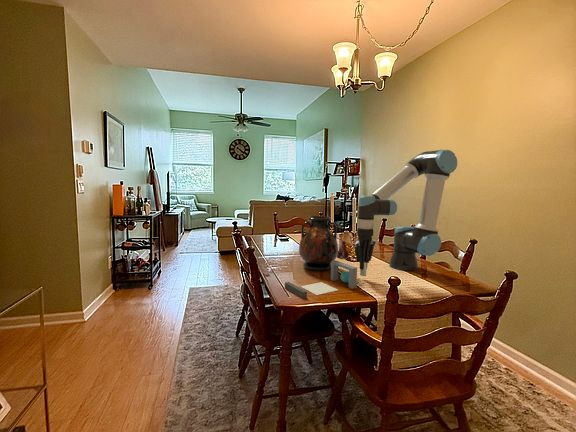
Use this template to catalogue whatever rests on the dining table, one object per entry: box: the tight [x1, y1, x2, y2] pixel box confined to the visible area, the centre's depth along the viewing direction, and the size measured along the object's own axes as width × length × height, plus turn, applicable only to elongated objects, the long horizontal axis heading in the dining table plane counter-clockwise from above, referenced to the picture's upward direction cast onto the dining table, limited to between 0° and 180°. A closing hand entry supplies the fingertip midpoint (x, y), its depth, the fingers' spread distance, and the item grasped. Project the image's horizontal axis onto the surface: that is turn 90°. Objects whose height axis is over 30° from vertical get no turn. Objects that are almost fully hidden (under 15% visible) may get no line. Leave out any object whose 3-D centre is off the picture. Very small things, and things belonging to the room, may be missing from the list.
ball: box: [340, 270, 349, 284], centre depth 146 cm, size 6×6×6 cm
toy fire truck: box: [336, 238, 350, 259], centre depth 197 cm, size 7×12×10 cm, turn 3°
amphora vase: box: [298, 215, 339, 272], centre depth 169 cm, size 22×22×28 cm
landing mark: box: [299, 281, 339, 296], centre depth 138 cm, size 12×12×1 cm
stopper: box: [284, 281, 308, 299], centre depth 132 cm, size 2×14×2 cm, turn 32°
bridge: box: [330, 259, 358, 289], centre depth 145 cm, size 3×14×9 cm, turn 32°
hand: (363, 275), depth 152 cm, fingers closed
